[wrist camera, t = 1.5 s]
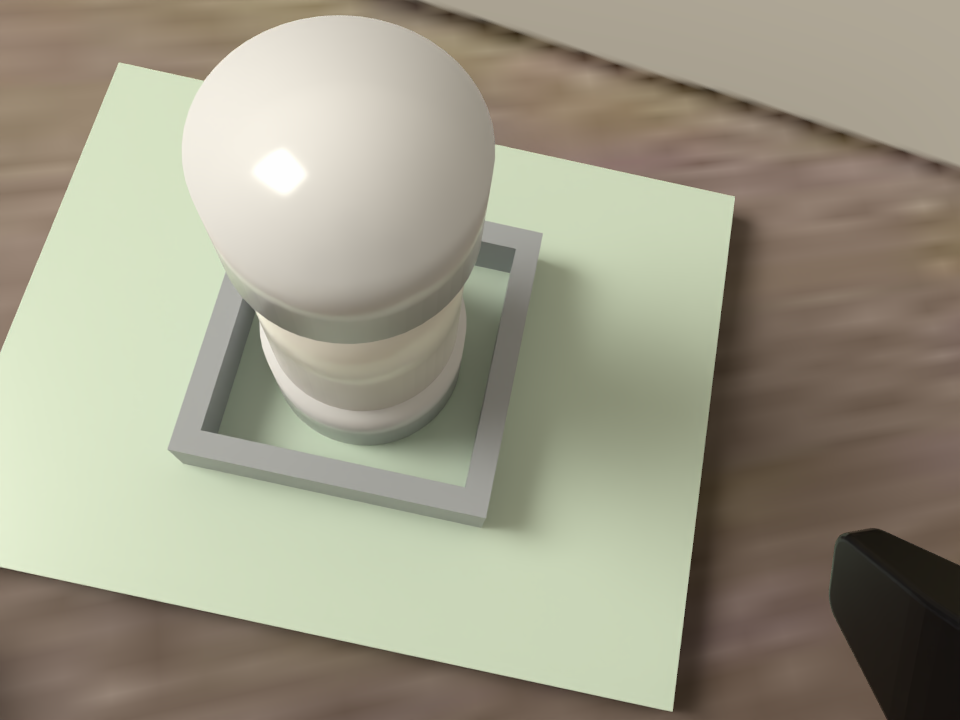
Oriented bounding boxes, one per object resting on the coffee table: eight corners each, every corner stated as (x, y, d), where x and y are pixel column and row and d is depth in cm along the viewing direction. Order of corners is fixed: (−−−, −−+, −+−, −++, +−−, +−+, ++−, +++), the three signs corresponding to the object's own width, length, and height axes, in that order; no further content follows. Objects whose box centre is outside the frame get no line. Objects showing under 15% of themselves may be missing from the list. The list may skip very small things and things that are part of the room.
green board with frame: (723, 213, 27) (754, 169, 24) (661, 709, 22) (691, 714, 20) (129, 83, 27) (102, 27, 24) (-60, 554, 22) (-116, 540, 20)
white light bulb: (477, 291, 24) (520, 50, 15) (438, 463, 23) (460, 316, 13) (302, 253, 24) (233, -13, 15) (251, 422, 22) (138, 246, 13)
